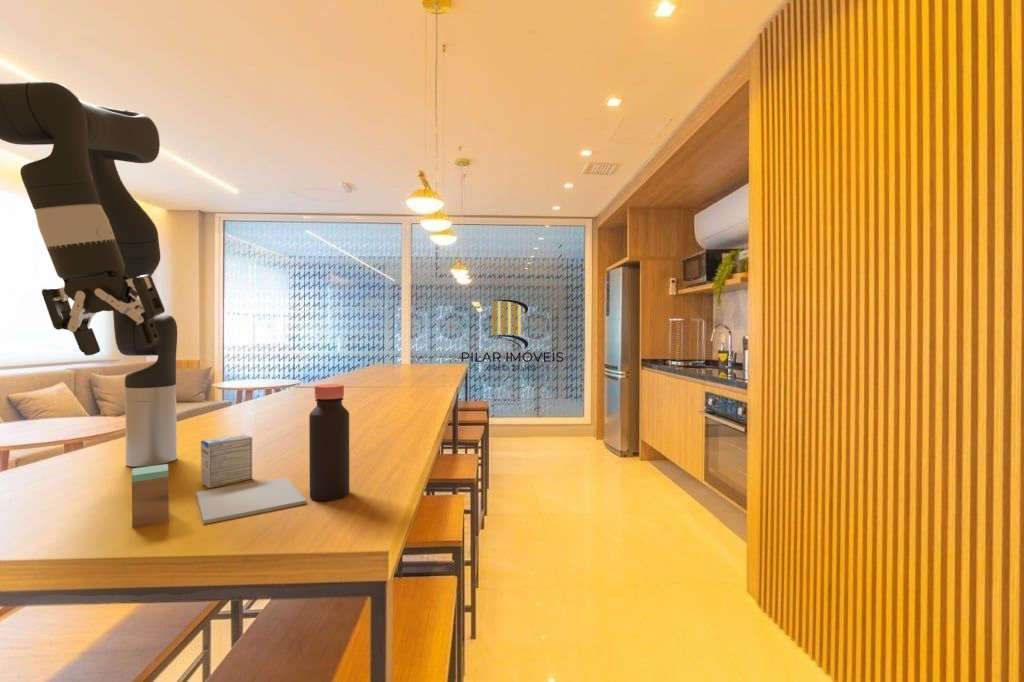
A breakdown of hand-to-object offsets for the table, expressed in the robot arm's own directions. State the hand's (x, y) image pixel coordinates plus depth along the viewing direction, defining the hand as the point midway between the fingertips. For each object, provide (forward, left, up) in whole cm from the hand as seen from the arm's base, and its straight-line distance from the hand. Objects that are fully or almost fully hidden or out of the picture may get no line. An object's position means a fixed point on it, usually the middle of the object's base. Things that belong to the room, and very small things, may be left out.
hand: (122, 349), depth 72 cm
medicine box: (-17, +15, -27) cm, 35 cm away
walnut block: (-2, +3, -27) cm, 27 cm away
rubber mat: (-3, +17, -27) cm, 32 cm away
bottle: (+3, +29, -27) cm, 40 cm away
